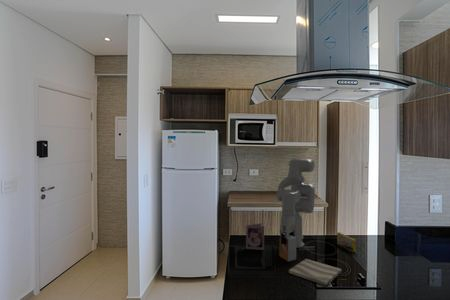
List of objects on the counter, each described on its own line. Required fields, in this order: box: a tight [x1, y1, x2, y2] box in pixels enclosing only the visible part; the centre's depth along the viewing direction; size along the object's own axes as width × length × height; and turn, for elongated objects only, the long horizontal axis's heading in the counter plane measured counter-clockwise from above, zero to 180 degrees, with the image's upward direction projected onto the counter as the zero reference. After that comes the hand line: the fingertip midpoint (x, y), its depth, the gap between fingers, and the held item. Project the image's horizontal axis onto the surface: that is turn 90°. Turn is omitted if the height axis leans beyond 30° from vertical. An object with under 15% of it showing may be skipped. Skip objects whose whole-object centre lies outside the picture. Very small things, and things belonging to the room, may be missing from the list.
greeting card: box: [245, 222, 265, 251], centre depth 185 cm, size 11×7×15 cm, turn 83°
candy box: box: [336, 231, 357, 253], centre depth 187 cm, size 16×2×8 cm, turn 15°
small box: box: [278, 234, 297, 262], centre depth 169 cm, size 8×6×13 cm
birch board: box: [288, 258, 342, 287], centre depth 151 cm, size 20×20×2 cm
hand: (287, 242), depth 168 cm, fingers open, 9 cm apart
